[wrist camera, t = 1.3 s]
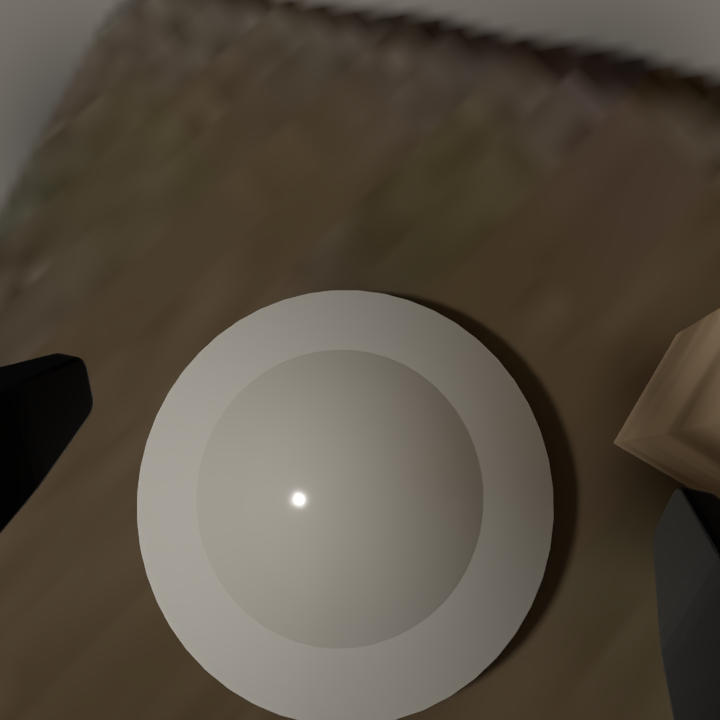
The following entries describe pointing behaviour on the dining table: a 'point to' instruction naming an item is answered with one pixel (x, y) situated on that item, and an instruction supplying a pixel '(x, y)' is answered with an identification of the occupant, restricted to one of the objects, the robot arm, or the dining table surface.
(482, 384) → the cream plate
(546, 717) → the dining table surface
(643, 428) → the pepper mill
